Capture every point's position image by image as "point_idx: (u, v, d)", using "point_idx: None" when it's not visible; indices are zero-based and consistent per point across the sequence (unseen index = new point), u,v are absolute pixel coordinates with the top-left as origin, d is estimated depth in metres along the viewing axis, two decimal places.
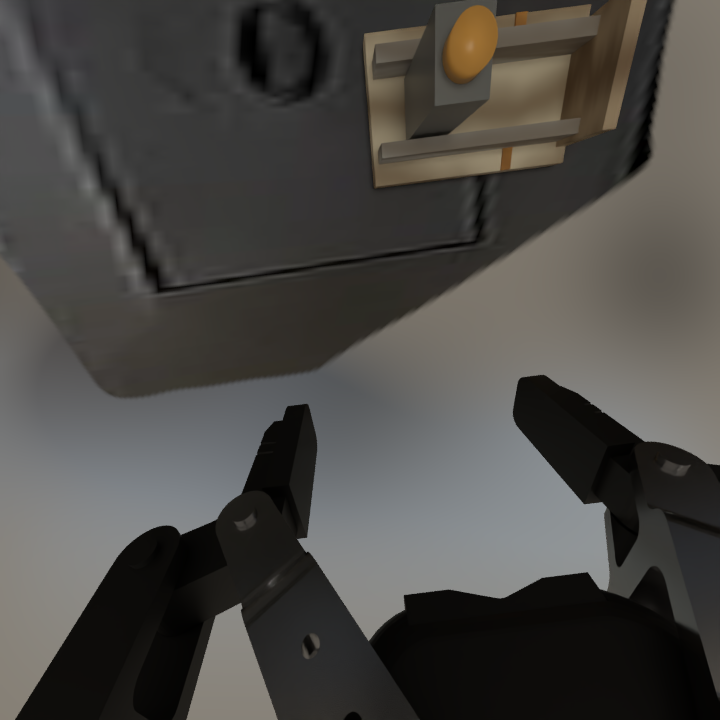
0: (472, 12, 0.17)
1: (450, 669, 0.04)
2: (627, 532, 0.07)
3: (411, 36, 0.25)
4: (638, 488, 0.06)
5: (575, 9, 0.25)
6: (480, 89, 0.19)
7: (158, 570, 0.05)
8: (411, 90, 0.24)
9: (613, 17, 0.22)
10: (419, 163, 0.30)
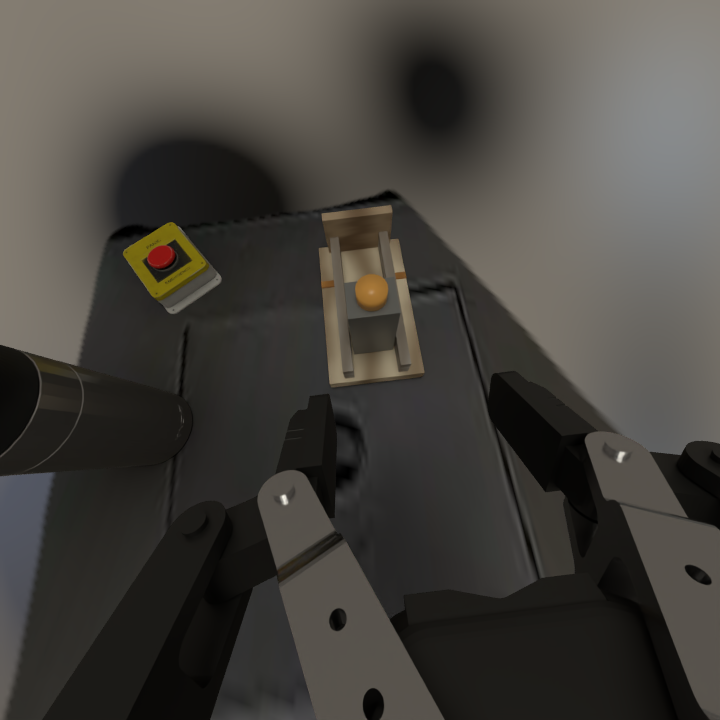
0: (358, 291, 0.25)
1: (450, 669, 0.04)
2: (585, 520, 0.07)
3: (331, 351, 0.36)
4: (592, 479, 0.06)
5: (320, 255, 0.40)
6: (389, 283, 0.27)
7: (209, 539, 0.06)
8: (368, 344, 0.32)
9: (334, 228, 0.36)
10: None
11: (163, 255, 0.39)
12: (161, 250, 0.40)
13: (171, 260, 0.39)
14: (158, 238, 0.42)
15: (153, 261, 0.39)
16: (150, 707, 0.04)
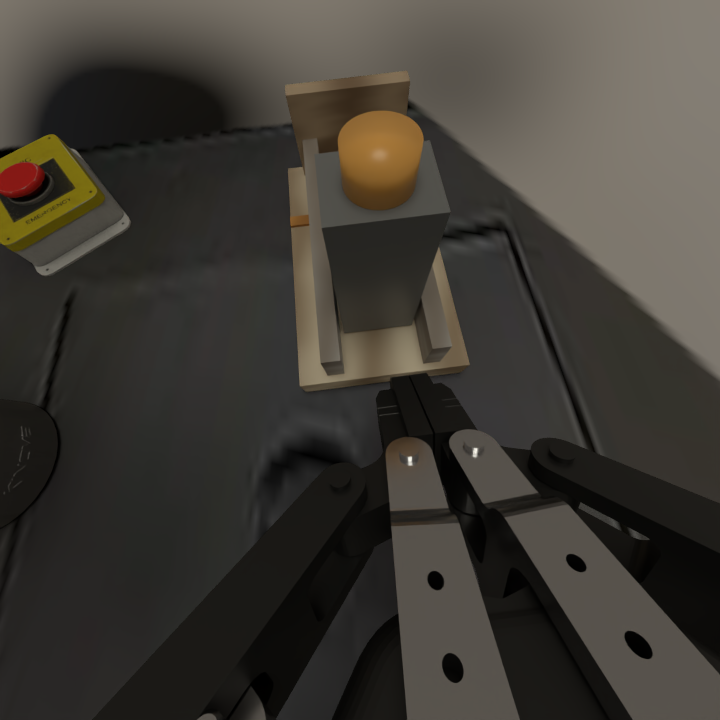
0: (346, 147, 0.09)
1: (450, 669, 0.04)
2: (469, 518, 0.07)
3: (304, 328, 0.20)
4: (468, 485, 0.06)
5: (290, 179, 0.25)
6: None
7: (359, 493, 0.06)
8: (368, 310, 0.17)
9: (309, 117, 0.21)
10: None
11: (22, 176, 0.24)
12: (20, 169, 0.24)
13: (35, 184, 0.24)
14: (27, 157, 0.26)
15: (4, 186, 0.23)
16: (285, 616, 0.05)
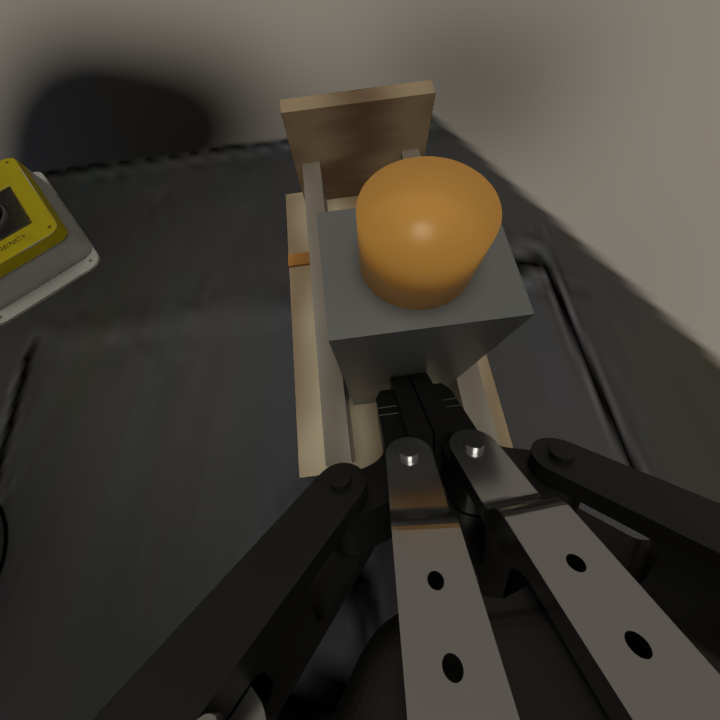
0: (370, 222, 0.06)
1: (450, 669, 0.04)
2: (469, 518, 0.07)
3: (305, 399, 0.16)
4: (468, 485, 0.06)
5: (289, 207, 0.21)
6: None
7: (359, 493, 0.06)
8: None
9: (309, 138, 0.17)
10: None
11: None
12: None
13: None
14: None
15: None
16: (285, 617, 0.05)
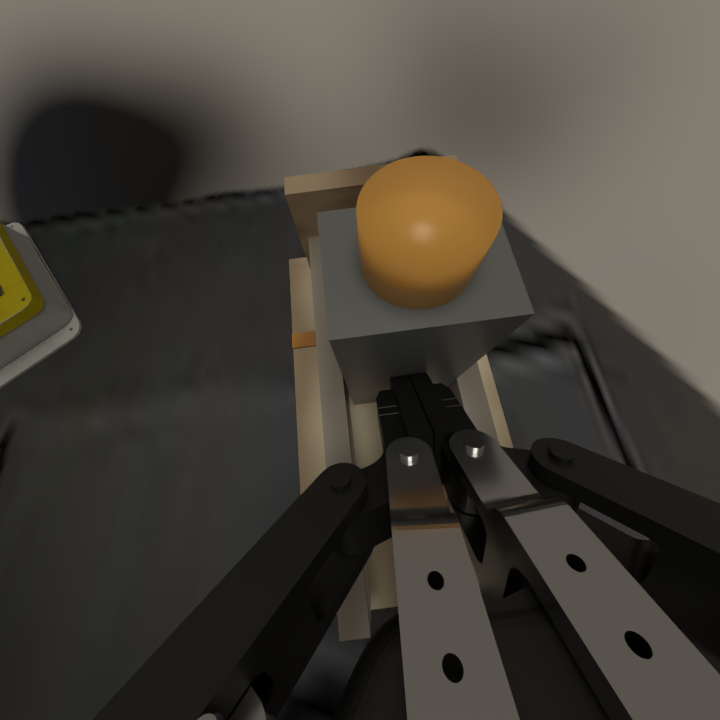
0: (371, 222, 0.06)
1: (450, 669, 0.04)
2: (469, 518, 0.07)
3: None
4: (468, 485, 0.06)
5: (292, 275, 0.19)
6: None
7: (359, 493, 0.06)
8: None
9: None
10: None
11: None
12: None
13: None
14: None
15: None
16: (285, 616, 0.05)
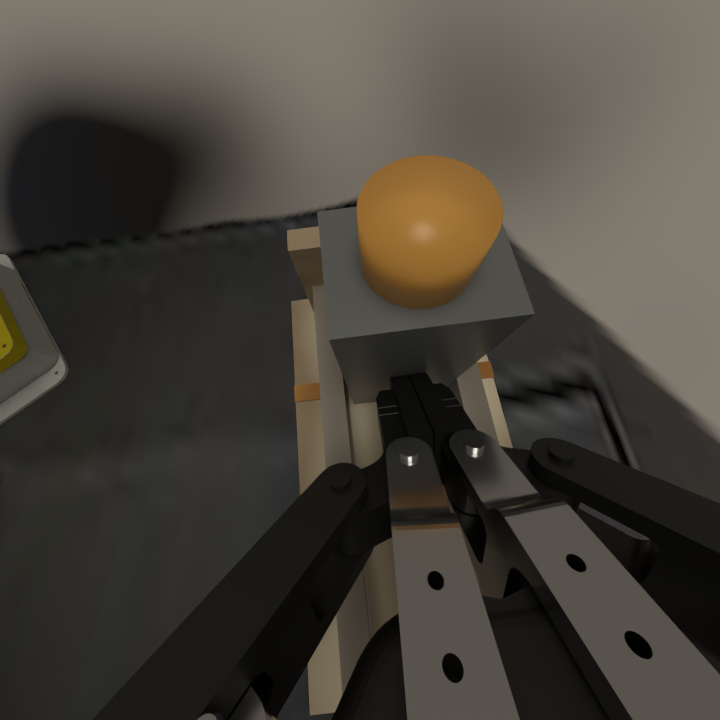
0: (371, 221, 0.06)
1: (450, 669, 0.04)
2: (469, 518, 0.07)
3: None
4: (468, 485, 0.06)
5: (295, 319, 0.18)
6: None
7: (359, 493, 0.06)
8: None
9: None
10: None
11: None
12: None
13: None
14: None
15: None
16: (285, 616, 0.05)
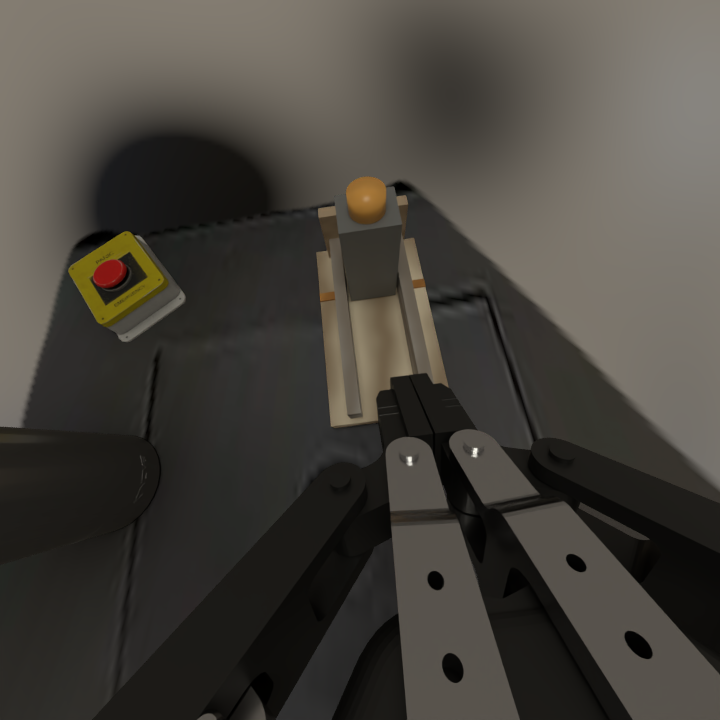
0: (350, 195, 0.20)
1: (450, 669, 0.04)
2: (469, 518, 0.07)
3: (332, 382, 0.28)
4: (468, 485, 0.06)
5: (319, 261, 0.33)
6: (388, 194, 0.22)
7: (359, 493, 0.06)
8: (366, 283, 0.28)
9: (334, 227, 0.29)
10: None
11: (111, 272, 0.32)
12: (110, 265, 0.33)
13: (121, 277, 0.32)
14: (110, 251, 0.35)
15: (99, 279, 0.32)
16: (285, 616, 0.05)
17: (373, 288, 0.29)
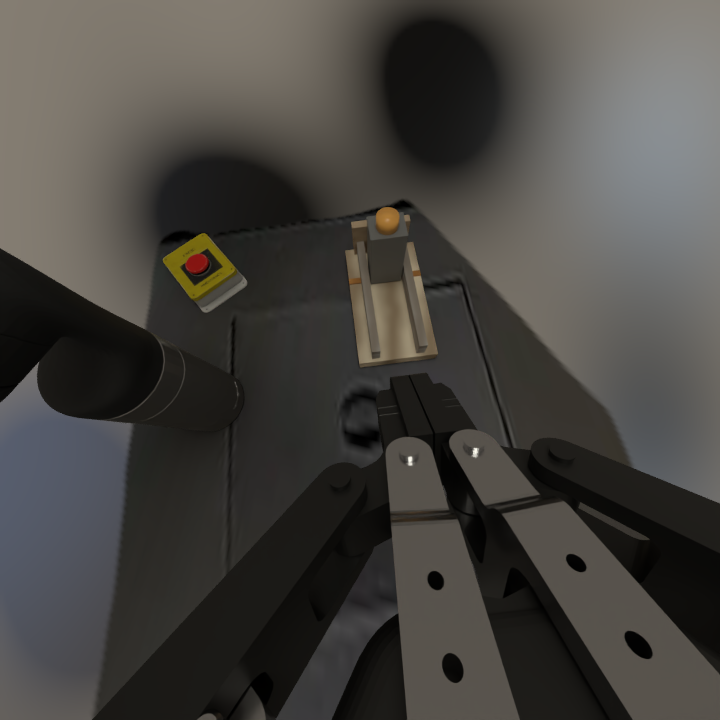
0: (378, 218, 0.35)
1: (450, 669, 0.04)
2: (468, 518, 0.07)
3: (359, 336, 0.43)
4: (468, 485, 0.06)
5: (347, 257, 0.47)
6: (399, 216, 0.37)
7: (359, 493, 0.06)
8: (382, 271, 0.42)
9: (361, 234, 0.43)
10: None
11: (199, 262, 0.46)
12: (197, 258, 0.46)
13: (206, 266, 0.46)
14: (193, 247, 0.49)
15: (190, 267, 0.46)
16: (285, 616, 0.05)
17: (386, 275, 0.43)
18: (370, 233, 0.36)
